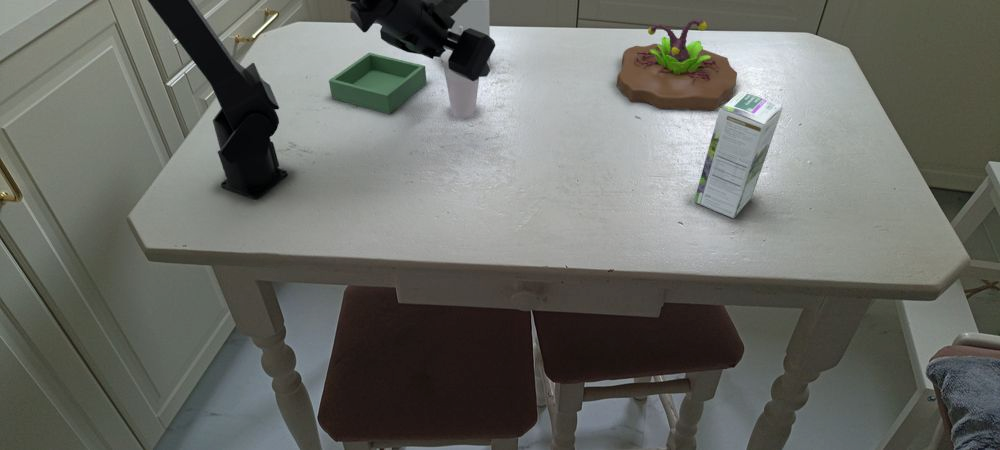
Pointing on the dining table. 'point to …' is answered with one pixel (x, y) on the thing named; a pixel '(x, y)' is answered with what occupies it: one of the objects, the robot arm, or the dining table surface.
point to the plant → (676, 73)
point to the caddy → (378, 82)
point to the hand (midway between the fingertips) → (465, 63)
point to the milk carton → (472, 18)
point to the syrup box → (737, 153)
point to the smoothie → (460, 89)
